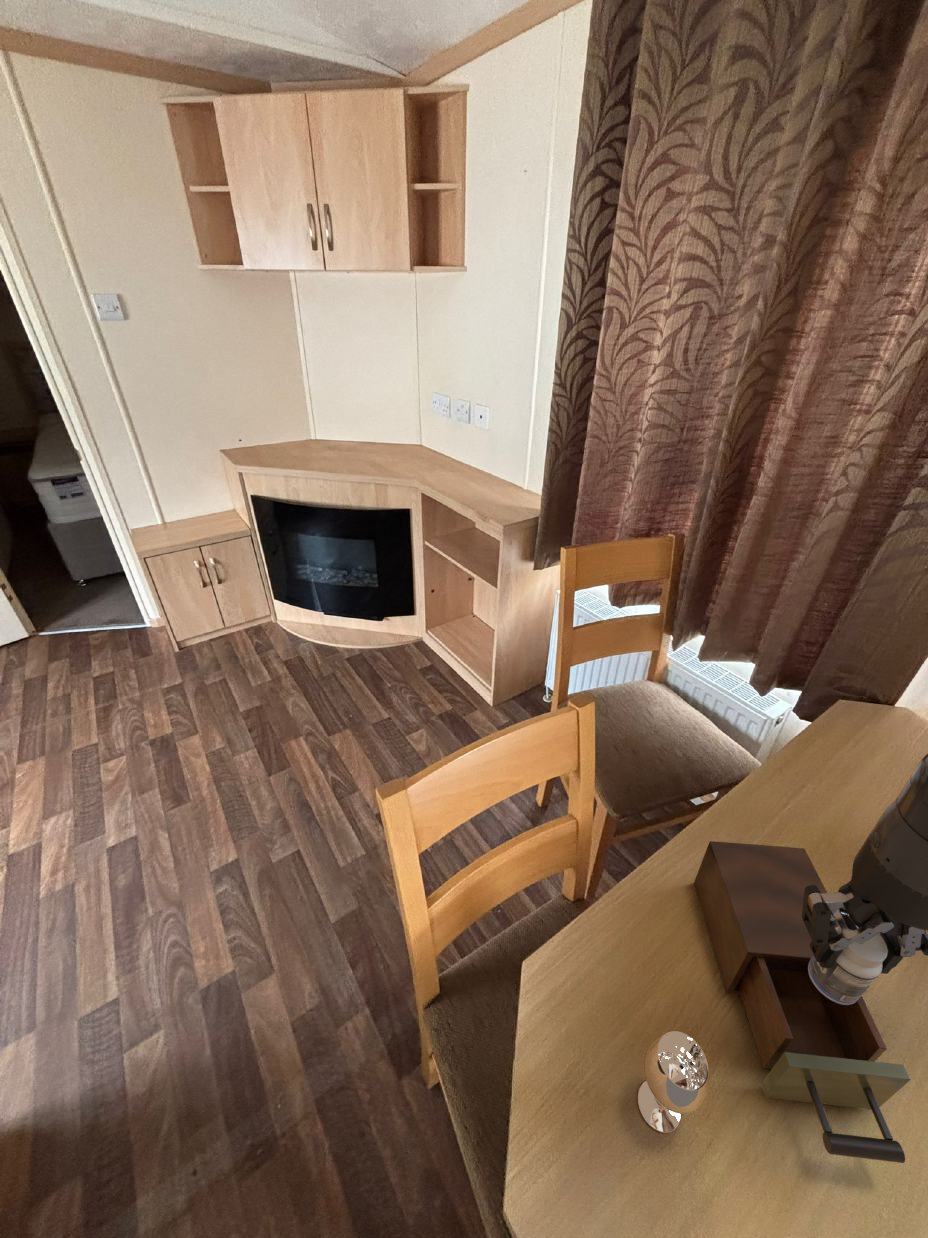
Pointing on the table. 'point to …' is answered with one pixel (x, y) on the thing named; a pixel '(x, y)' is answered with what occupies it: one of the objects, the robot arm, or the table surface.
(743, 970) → the cabinet
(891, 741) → the table surface
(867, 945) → the pill bottle
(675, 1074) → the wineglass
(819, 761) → the table surface
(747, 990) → the drawer
